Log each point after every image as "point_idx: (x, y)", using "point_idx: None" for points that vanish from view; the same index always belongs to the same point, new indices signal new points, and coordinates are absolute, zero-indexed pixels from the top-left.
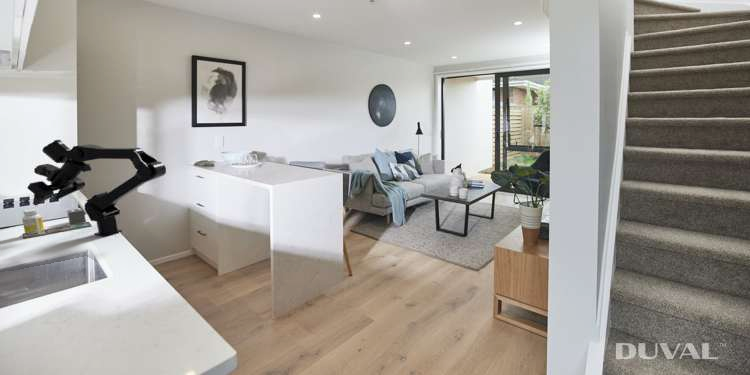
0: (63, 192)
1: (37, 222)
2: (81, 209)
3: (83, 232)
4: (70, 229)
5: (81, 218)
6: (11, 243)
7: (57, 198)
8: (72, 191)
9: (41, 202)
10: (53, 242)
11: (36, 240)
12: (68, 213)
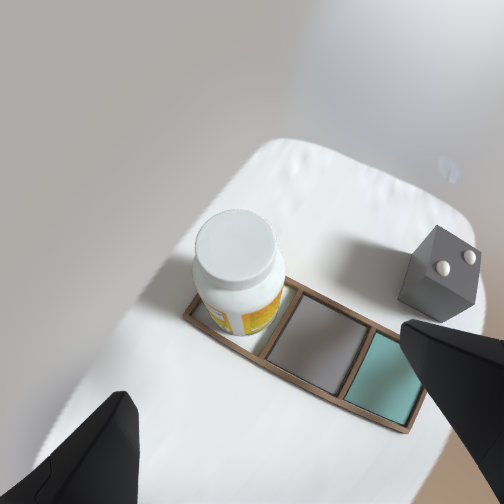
0: (474, 409)
1: (236, 320)
2: (475, 272)
3: (320, 499)
4: (338, 404)
5: (441, 310)
6: (132, 327)
7: (406, 350)
8: (496, 492)
9: (132, 488)
10: (172, 500)
11: (177, 401)
12: (424, 272)
